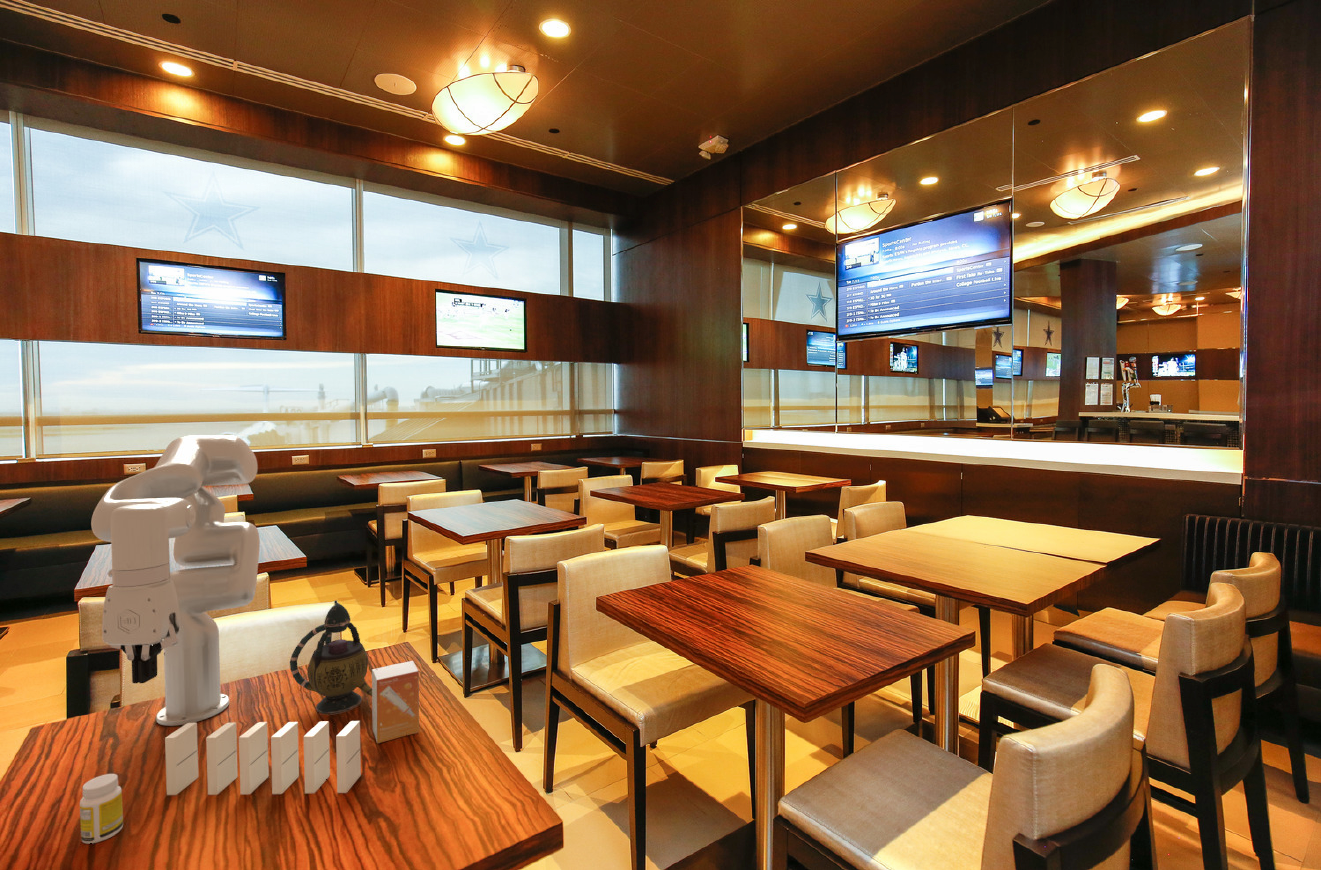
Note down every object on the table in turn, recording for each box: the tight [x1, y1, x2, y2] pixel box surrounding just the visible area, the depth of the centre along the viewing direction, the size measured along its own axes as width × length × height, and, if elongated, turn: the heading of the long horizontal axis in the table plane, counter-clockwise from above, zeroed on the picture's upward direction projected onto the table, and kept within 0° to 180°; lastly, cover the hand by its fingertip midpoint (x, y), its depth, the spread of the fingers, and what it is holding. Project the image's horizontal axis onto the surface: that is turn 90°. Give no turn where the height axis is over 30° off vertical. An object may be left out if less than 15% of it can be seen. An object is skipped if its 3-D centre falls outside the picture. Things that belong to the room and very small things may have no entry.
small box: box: [371, 660, 420, 744], centre depth 122 cm, size 8×6×13 cm
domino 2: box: [205, 721, 239, 796], centre depth 104 cm, size 2×5×10 cm, turn 1°
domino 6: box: [335, 720, 362, 794], centre depth 104 cm, size 2×5×10 cm, turn 1°
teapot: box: [289, 600, 372, 716], centre depth 132 cm, size 12×25×23 cm, turn 70°
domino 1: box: [164, 722, 199, 796], centre depth 104 cm, size 2×5×10 cm, turn 1°
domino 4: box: [270, 721, 300, 795], centre depth 104 cm, size 2×5×10 cm, turn 1°
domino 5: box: [303, 720, 331, 794], centre depth 104 cm, size 2×5×10 cm, turn 1°
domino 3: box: [238, 721, 270, 795], centre depth 104 cm, size 2×5×10 cm, turn 1°
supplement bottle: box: [79, 773, 124, 845], centre depth 92 cm, size 5×5×8 cm
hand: (145, 679), depth 103 cm, fingers closed
